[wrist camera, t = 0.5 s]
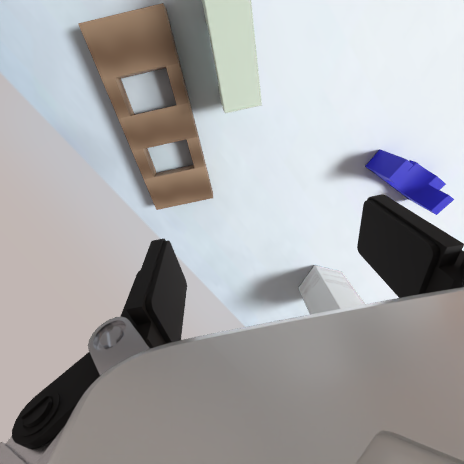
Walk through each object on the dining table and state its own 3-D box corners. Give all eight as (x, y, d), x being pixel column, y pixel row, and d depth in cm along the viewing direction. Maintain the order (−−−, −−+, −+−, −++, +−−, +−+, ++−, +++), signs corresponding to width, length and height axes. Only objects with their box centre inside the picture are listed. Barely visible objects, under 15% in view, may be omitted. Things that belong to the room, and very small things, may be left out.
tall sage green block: (200, -7, 24) (197, -36, 19) (237, -15, 24) (246, -48, 18) (222, 108, 30) (225, 113, 25) (251, 101, 30) (261, 105, 24)
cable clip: (430, 177, 39) (463, 191, 34) (408, 198, 41) (436, 214, 36) (386, 140, 35) (416, 149, 30) (364, 165, 37) (388, 178, 32)
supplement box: (296, 288, 51) (320, 341, 40) (314, 263, 47) (344, 315, 37) (324, 294, 53) (353, 347, 42) (343, 271, 49) (380, 322, 38)
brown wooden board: (87, 27, 25) (78, 23, 23) (166, 8, 25) (162, 3, 23) (158, 204, 37) (156, 209, 35) (212, 192, 37) (213, 197, 35)
